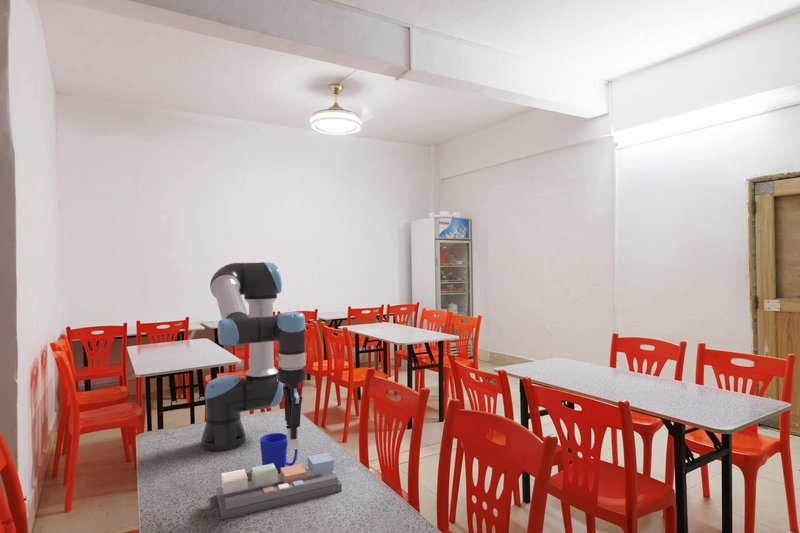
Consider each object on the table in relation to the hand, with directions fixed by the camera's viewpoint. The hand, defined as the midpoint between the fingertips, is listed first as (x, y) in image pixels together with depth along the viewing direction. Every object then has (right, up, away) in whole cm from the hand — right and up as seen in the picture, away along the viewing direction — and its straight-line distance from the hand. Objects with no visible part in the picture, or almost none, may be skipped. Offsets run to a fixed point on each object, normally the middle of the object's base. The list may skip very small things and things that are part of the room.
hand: (292, 448), depth 136 cm
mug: (-7, -12, +13) cm, 19 cm away
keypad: (-3, -12, -2) cm, 12 cm away
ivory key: (-14, -7, -7) cm, 18 cm away
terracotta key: (0, -9, 0) cm, 9 cm away
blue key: (+7, -7, +3) cm, 11 cm away
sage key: (-7, -7, -4) cm, 11 cm away
